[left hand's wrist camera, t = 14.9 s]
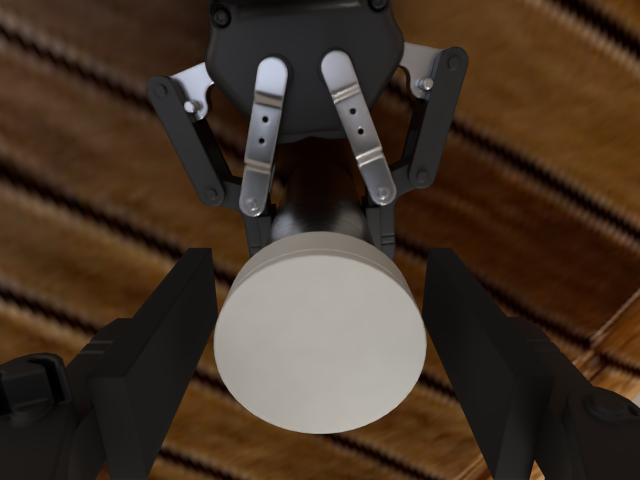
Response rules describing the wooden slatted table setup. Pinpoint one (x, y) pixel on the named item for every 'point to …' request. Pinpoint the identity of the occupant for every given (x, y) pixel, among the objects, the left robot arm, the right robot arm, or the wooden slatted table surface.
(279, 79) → the right robot arm
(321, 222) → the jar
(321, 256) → the lid
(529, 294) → the wooden slatted table surface
